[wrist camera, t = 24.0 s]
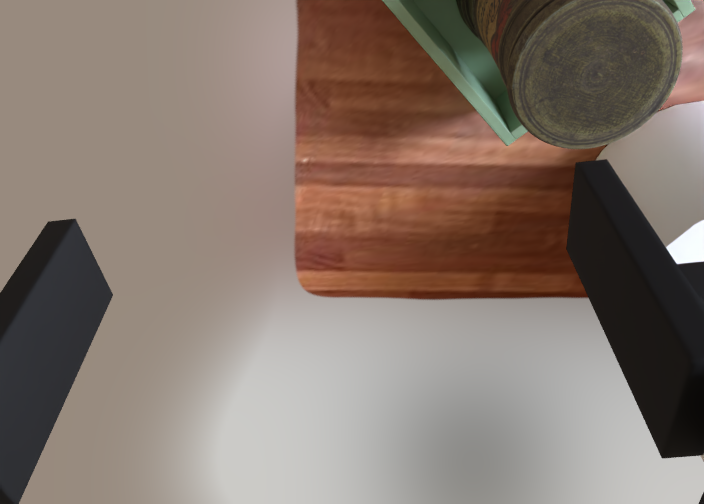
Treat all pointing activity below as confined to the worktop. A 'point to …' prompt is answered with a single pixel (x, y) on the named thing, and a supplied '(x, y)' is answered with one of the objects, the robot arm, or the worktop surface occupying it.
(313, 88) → the worktop surface
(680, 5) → the tub
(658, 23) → the container
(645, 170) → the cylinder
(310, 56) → the worktop surface
